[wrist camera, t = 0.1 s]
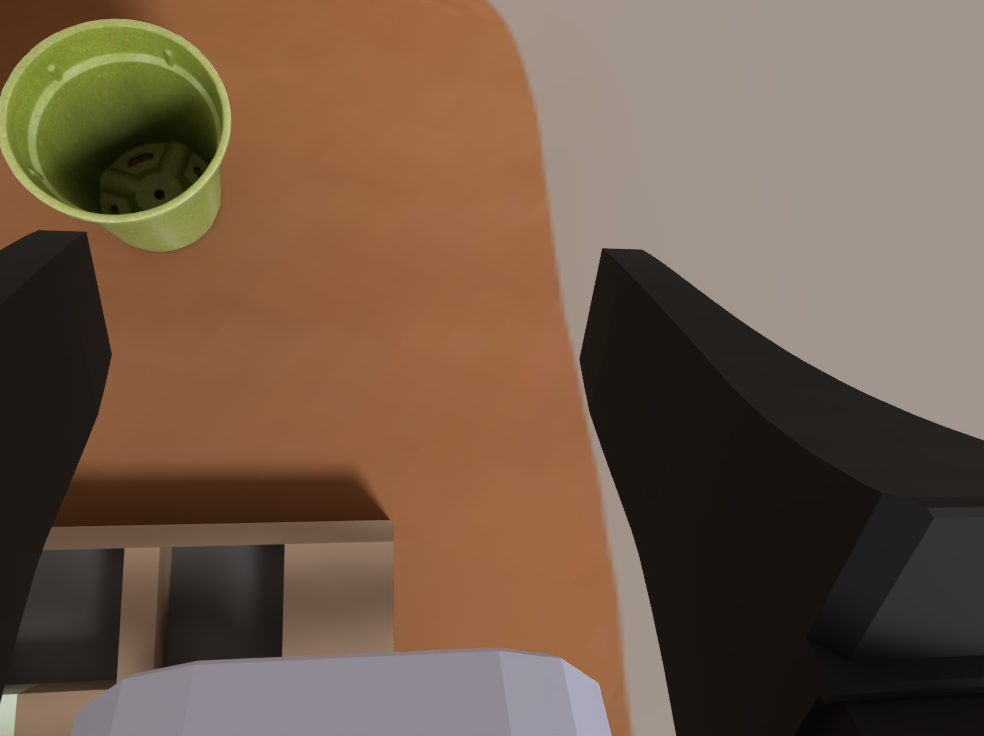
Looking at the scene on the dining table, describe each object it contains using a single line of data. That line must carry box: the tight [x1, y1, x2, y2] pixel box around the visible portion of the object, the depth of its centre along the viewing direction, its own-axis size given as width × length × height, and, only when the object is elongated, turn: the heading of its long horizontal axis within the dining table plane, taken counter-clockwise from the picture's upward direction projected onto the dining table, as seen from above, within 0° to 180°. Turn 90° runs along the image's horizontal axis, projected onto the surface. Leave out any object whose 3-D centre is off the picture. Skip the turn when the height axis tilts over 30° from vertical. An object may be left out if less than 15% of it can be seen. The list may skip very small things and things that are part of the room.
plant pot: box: [0, 19, 231, 252], centre depth 40 cm, size 9×9×9 cm
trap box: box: [0, 520, 394, 736], centre depth 37 cm, size 15×22×5 cm
